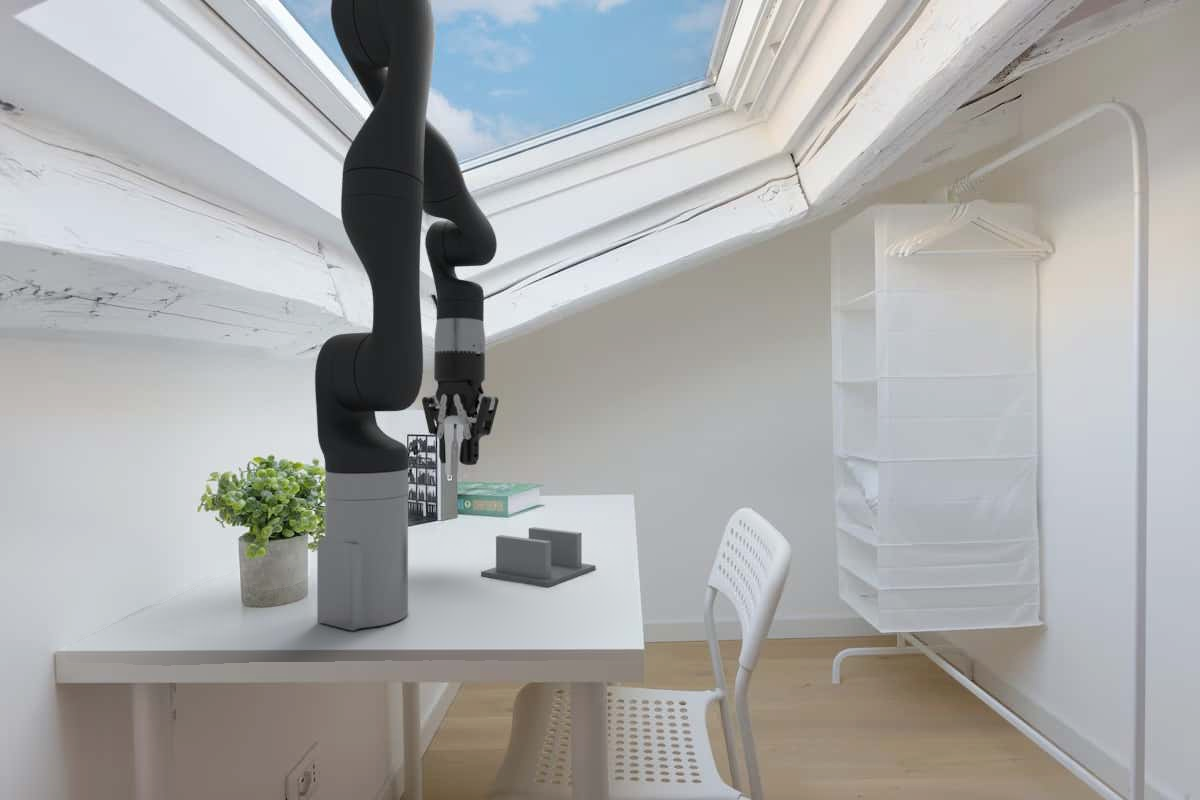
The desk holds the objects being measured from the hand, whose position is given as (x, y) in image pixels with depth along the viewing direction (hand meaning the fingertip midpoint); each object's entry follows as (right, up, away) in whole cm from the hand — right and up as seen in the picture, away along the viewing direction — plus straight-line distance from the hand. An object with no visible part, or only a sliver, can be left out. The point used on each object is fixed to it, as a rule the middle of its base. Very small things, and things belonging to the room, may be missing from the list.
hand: (458, 463), depth 108 cm
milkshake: (0, -2, 0) cm, 2 cm away
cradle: (+12, -16, -3) cm, 20 cm away
